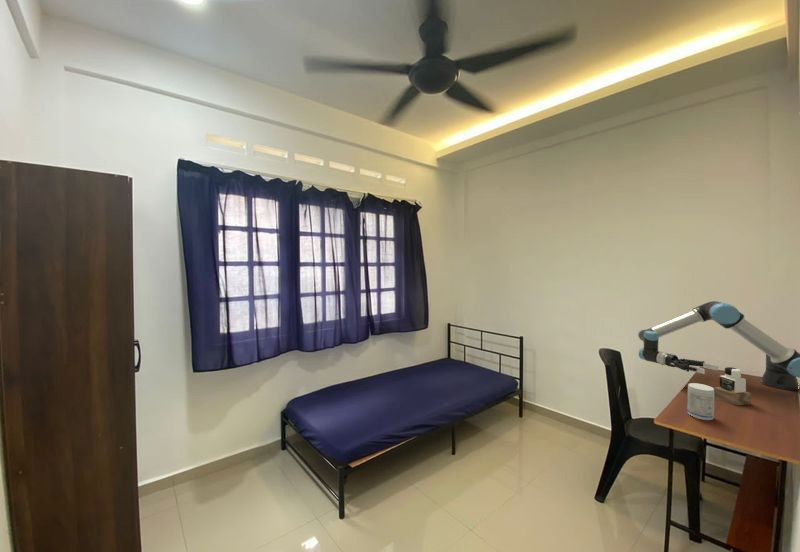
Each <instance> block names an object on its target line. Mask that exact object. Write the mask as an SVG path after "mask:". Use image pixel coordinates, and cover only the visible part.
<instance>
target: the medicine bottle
mask: <svg viewBox="0 0 800 552" xmlns="http://www.w3.org/2000/svg"><path fill="white" fill-rule="evenodd" d="M746 385H747V380H746V379H745V378H743V377H742V370H741V369H739V368H738V367H737V368H736V367H733V366H732V367H731V366H730V367H729V366H728V367H725V368H724V375H719V387H720V389H723V390H726V391H729V392H732V393H743V392H747V391H746V389H747V387H746Z"/></svg>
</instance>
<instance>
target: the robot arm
mask: <svg viewBox="0 0 800 552" xmlns="http://www.w3.org/2000/svg"><path fill="white" fill-rule="evenodd" d="M707 321H714V322H715V323H716V324H718V325H719V326H721V327H722V328H724V329H728V330H729V329H730V330H732V331H733V333H736V334H737V335H738V336H740V337H741V338H743V339H745V341H747V342H748V343H750V344H752V346H755V348H757V349H758V350H759V351H761V352H763V353H764V354H765V371H764V373H763V374H762V377H761V379H760V383H761V384H763V385H765V386H768V387H771V388H776V389H780V390H787V391H799V390H798V386H799V385H800V384H799V382H798V378H800V352H798V351H797V349H795V348H791V347H786V346H784V345H783V344H782V343H780V342H778V341H777V340H775V339H774V338H773V337H772V336H770V335H769V334H767V333H765V332H764V331H762V330H761V329H759V328H758V327H757V326H755V325H754V324H753V323H751V322H749V321H748V320H747V319H745V315H744V314H743V313H742V312H740V311H739V309H738V308H737V307H736V306H734V305H732V304H730V303H725V302H721V301H716V300H715V301H708V302H705V303H703V304H701V305H698V306H696V307H694V308H692V309H691V311H689V312H686V313H684V314H682V315H681V314H680V315H679V316H676V317H674V318H671V319H669V320H666V321H664V322H662V323H659V324H657V325H655V326H653V327H650V328H647V329H641V330H640V331H638V333H637V335H638V338H639V339H640V340H641V341H642V342H643V347H641V348H640V349H639V350H638V357H639V358H640V359H641V360H643V361H645V362H651V363H654V364H658V365H661V366H667V367H669V368H670V367H671V368H677V369H679V370H683V371H686V372H688V373H689V372H690V371H691V372H695V373H698V374H703V375H706V370H705V369H708V370H713V371H718V372H719V365H716V364H712V363H707V362H705V360H694V359H687V358H678V356H677V355H676V354H671V353H668V352H663V351H659V340H660V339H659V338H662V337H664V336H667V335H669V334H671V333H674V332H676V331H680V330H682V329H684V328H687V327H690V326H692V325H695V324H697V323H704V322H707ZM798 384H799V385H798Z"/></svg>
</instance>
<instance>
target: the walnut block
mask: <svg viewBox="0 0 800 552" xmlns="http://www.w3.org/2000/svg"><path fill="white" fill-rule="evenodd" d="M713 388H714V399H715V400H719V401H721V402H724V403H727V404H730V405H732V406H745V405H751V400H752V398H751V397H752V395H751V392H748V391H746V392H743V393H732V392H729V391H726V390H723V389H720V386H717V387H713Z"/></svg>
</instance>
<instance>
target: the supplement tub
mask: <svg viewBox="0 0 800 552" xmlns="http://www.w3.org/2000/svg"><path fill="white" fill-rule="evenodd" d="M687 385H688V386H687V407H686V409H687V414H688V415H689V416H690V415H691V417H692V416H693V417H692V418H695V419H698V420H702V421H711V420H713V419H714V416H715V398H714V387H712V386H709V385H707V384H704V383H703V384H702V383H696V382H691V383H690V382H689V383H688V384H687Z"/></svg>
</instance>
